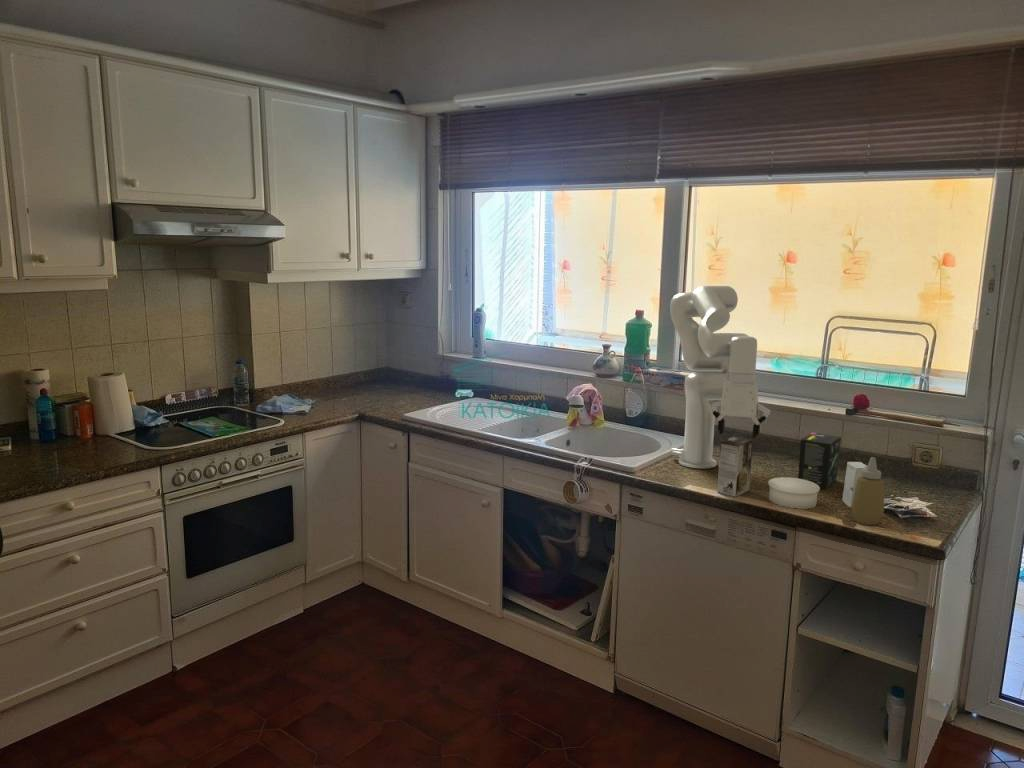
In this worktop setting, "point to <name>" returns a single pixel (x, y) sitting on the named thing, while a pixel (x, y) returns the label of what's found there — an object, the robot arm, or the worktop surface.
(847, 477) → the skincare box
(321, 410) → the worktop surface
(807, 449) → the tampon box
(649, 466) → the worktop surface
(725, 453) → the coffee box
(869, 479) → the squeeze bottle
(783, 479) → the podium
